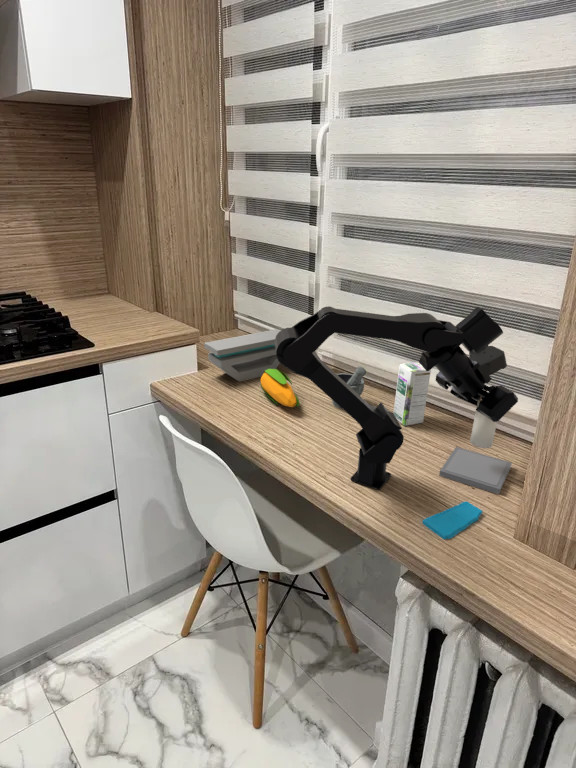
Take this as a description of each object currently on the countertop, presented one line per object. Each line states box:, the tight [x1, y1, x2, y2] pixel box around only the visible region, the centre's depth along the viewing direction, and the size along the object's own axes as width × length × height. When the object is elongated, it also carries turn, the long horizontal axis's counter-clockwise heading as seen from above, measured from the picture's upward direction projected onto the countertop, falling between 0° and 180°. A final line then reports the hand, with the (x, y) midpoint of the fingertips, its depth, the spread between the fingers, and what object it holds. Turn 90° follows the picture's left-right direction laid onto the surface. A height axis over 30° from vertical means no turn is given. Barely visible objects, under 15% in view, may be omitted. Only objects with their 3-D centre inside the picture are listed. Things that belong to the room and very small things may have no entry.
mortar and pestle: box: [332, 366, 367, 409], centre depth 139 cm, size 11×9×12 cm
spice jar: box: [469, 396, 498, 449], centre depth 109 cm, size 4×4×10 cm
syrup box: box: [392, 362, 432, 427], centre depth 131 cm, size 6×6×14 cm
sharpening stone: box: [203, 329, 281, 382], centre depth 158 cm, size 25×8×11 cm, turn 125°
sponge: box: [422, 501, 483, 541], centre depth 97 cm, size 2×12×6 cm
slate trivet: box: [439, 446, 512, 495], centre depth 112 cm, size 12×12×1 cm
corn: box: [260, 368, 300, 408], centre depth 141 cm, size 7×8×20 cm
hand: (492, 411), depth 109 cm, fingers closed on spice jar, 4 cm apart
